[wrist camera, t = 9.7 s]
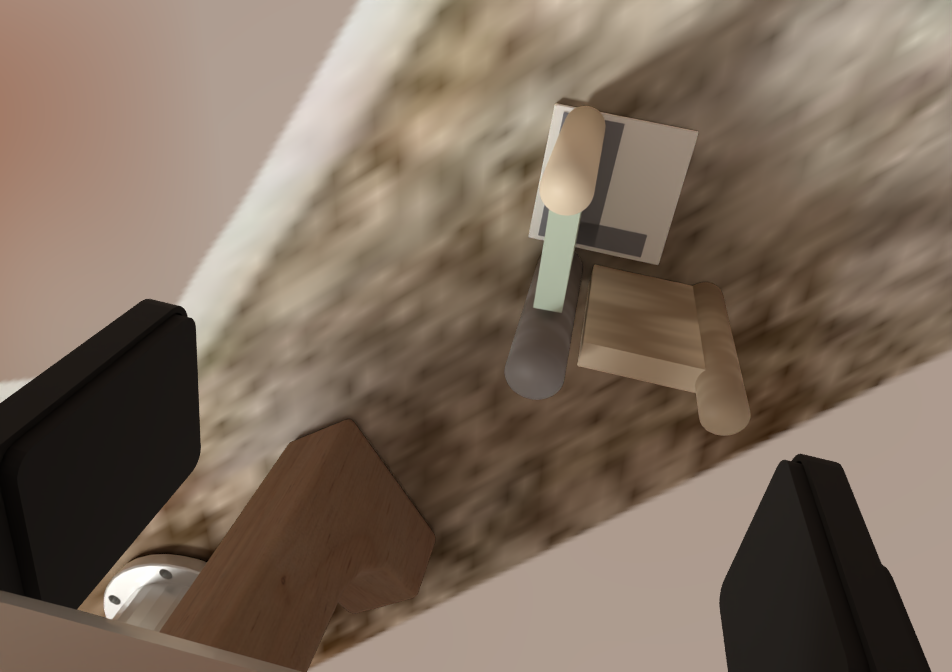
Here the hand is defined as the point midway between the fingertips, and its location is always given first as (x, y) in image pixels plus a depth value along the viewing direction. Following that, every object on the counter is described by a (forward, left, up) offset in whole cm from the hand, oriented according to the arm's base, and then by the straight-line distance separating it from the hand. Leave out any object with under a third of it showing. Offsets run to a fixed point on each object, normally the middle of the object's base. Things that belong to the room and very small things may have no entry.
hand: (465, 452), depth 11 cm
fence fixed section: (-6, -2, -21) cm, 22 cm away
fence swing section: (-1, 0, -20) cm, 20 cm away
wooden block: (-18, +12, -21) cm, 30 cm away
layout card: (-2, -2, -21) cm, 21 cm away
